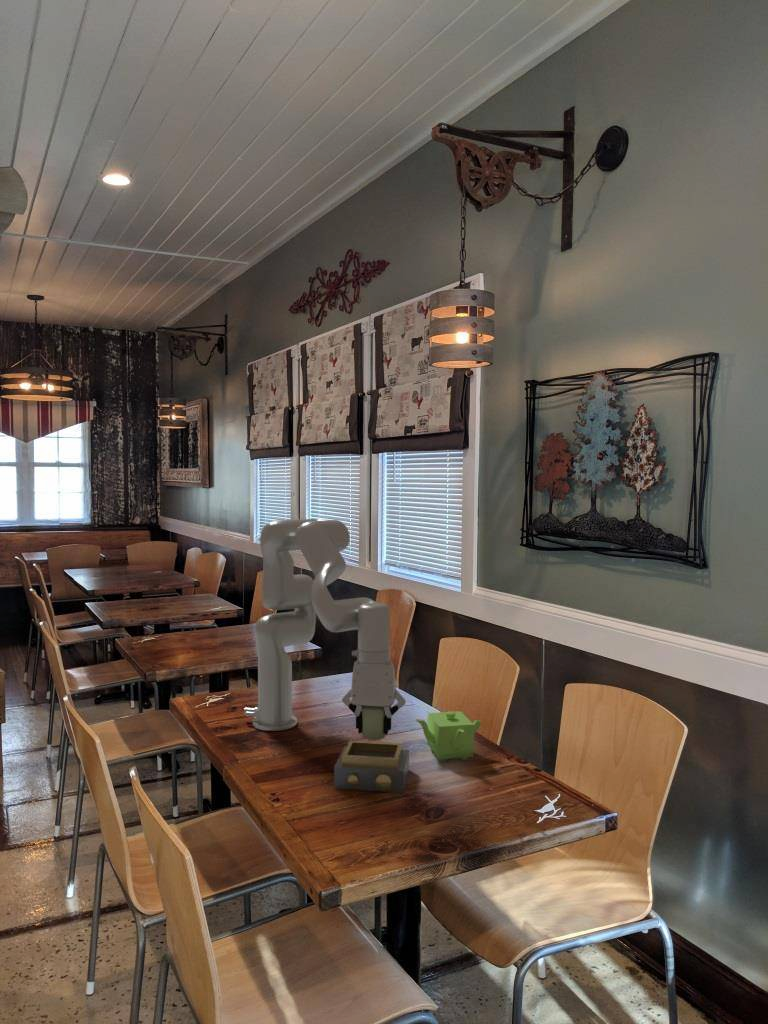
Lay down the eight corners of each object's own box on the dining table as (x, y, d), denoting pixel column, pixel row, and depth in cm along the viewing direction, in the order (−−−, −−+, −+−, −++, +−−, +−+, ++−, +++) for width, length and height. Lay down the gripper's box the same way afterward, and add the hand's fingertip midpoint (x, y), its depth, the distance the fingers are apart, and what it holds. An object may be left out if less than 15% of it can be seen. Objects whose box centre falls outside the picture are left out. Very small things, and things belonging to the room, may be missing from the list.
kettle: (462, 771, 183) (463, 726, 182) (411, 759, 190) (411, 716, 189) (487, 751, 196) (487, 709, 195) (438, 741, 203) (438, 700, 202)
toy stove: (333, 790, 171) (333, 760, 171) (344, 765, 185) (344, 738, 185) (402, 795, 169) (403, 764, 169) (409, 770, 183) (409, 741, 183)
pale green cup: (360, 739, 175) (360, 708, 174) (365, 728, 182) (365, 698, 182) (383, 740, 174) (383, 709, 174) (387, 729, 181) (387, 699, 181)
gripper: (334, 658, 174) (334, 735, 175) (408, 661, 171) (408, 739, 172) (340, 651, 181) (340, 725, 182) (411, 653, 179) (411, 728, 180)
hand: (373, 731), depth 177 cm, fingers closed on pale green cup, 5 cm apart
